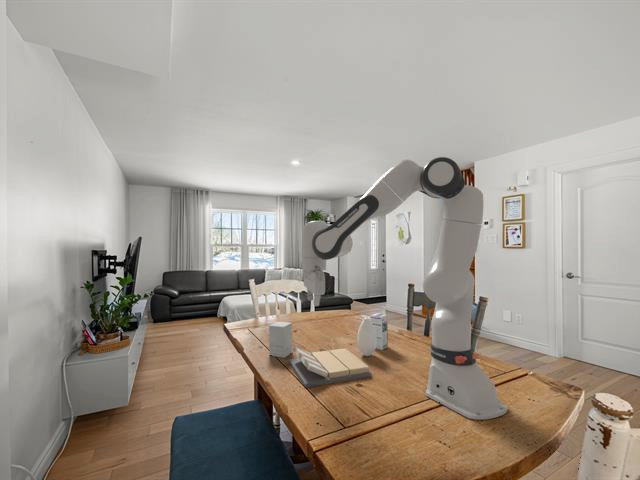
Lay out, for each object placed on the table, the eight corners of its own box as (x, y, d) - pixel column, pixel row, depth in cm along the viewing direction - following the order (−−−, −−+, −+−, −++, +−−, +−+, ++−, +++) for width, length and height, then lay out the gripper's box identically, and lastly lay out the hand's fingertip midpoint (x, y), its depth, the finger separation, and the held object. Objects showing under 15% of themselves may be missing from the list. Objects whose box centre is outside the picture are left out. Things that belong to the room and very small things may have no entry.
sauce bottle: (354, 357, 122) (354, 312, 122) (361, 350, 129) (360, 309, 129) (373, 360, 118) (372, 314, 119) (378, 354, 125) (378, 310, 126)
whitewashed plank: (326, 377, 100) (328, 373, 100) (308, 369, 97) (310, 365, 98) (308, 356, 118) (310, 352, 119) (292, 349, 116) (294, 346, 117)
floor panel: (371, 376, 104) (371, 367, 104) (305, 387, 96) (305, 378, 96) (345, 354, 125) (345, 347, 125) (288, 362, 117) (288, 354, 117)
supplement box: (293, 352, 128) (292, 322, 128) (283, 358, 121) (283, 327, 121) (278, 350, 131) (278, 320, 131) (268, 355, 124) (268, 325, 124)
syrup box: (382, 350, 130) (382, 316, 130) (370, 347, 133) (370, 314, 133) (388, 346, 134) (387, 314, 134) (376, 344, 138) (375, 312, 138)
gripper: (330, 267, 100) (329, 308, 100) (316, 262, 120) (315, 297, 120) (311, 267, 99) (311, 309, 99) (300, 262, 119) (299, 297, 119)
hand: (313, 302), depth 110 cm, fingers open, 8 cm apart
